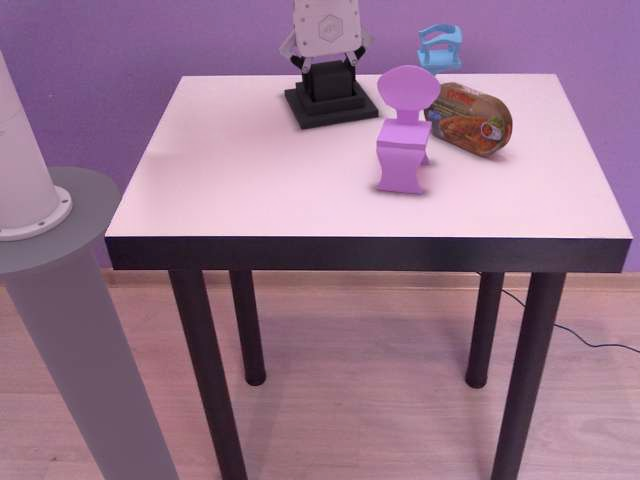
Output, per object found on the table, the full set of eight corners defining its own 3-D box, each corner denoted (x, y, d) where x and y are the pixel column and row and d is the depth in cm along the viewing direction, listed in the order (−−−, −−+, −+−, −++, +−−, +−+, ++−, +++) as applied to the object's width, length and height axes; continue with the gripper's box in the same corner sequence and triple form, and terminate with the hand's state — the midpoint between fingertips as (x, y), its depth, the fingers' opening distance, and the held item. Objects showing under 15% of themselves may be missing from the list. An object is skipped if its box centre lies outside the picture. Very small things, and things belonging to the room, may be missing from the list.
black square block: (316, 102, 101) (315, 78, 98) (308, 87, 105) (306, 64, 102) (352, 96, 102) (351, 73, 99) (342, 82, 106) (341, 59, 104)
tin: (420, 129, 98) (423, 78, 92) (434, 123, 99) (437, 72, 94) (498, 165, 89) (506, 110, 84) (511, 157, 91) (520, 103, 85)
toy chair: (368, 190, 85) (367, 86, 75) (380, 158, 91) (381, 58, 82) (429, 197, 83) (436, 91, 74) (437, 163, 90) (444, 62, 80)
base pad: (301, 129, 99) (299, 112, 97) (284, 96, 108) (282, 79, 107) (378, 116, 101) (378, 99, 100) (355, 85, 111) (355, 69, 109)
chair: (409, 89, 109) (411, 19, 102) (456, 86, 109) (462, 17, 102) (414, 108, 103) (417, 36, 96) (464, 106, 103) (471, 34, 96)
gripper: (270, -12, 87) (283, 107, 99) (386, -26, 90) (386, 91, 102) (261, -26, 93) (274, 88, 104) (371, -39, 96) (371, 73, 108)
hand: (329, 88), depth 103 cm, fingers closed on black square block, 6 cm apart
